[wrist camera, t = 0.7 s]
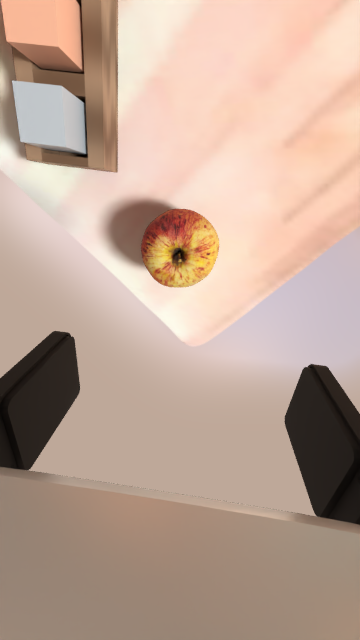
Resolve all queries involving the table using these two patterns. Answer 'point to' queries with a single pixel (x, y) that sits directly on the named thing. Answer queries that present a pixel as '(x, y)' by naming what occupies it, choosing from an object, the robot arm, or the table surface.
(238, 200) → the table surface
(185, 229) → the apple
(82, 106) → the grey block
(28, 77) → the frame block
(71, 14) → the key terracotta
